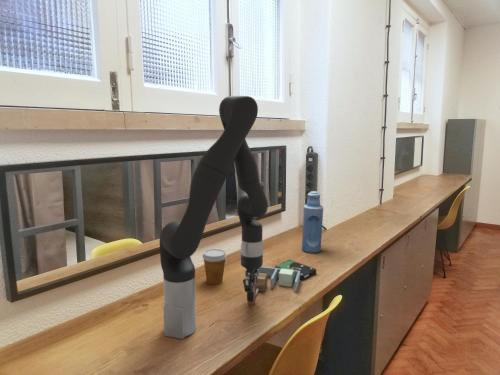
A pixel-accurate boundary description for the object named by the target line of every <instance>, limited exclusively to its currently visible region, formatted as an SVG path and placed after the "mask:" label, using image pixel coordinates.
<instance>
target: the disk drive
mask: <svg viewBox="0 0 500 375" xmlns="http://www.w3.org/2000/svg"><path fill="white" fill-rule="evenodd" d="M274 268H280V269H281V268H282V269H290V270H297V271H300V281H301V282H303V281H305V280H307V279H309V278H310V277H313V276H316V275H317V269H316V268H314V267H311V266H309V265H306V264H304V263H300V262H297V261H295V260H292V259H287V260H286V261H283V262H281V263H279V264H276V265H275V266H274Z"/></svg>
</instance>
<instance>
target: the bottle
mask: <svg viewBox="0 0 500 375" xmlns="http://www.w3.org/2000/svg"><path fill="white" fill-rule="evenodd" d="M323 216H324V206H323V205H321V194H320V192H318V191H317V190H316V191H315V190H312V191H309V192H308V193H307V200H306V204H304V205H303V216H302V218H303V220H302V221H303V222H302V235H301V236H302V237H301V250H302V251H303V252H304V253H307V254H318V253H320V252H322V234H323V222H324V221H323V220H324V219H323Z"/></svg>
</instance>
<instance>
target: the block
mask: <svg viewBox="0 0 500 375" xmlns="http://www.w3.org/2000/svg"><path fill="white" fill-rule="evenodd" d="M293 272H294V270H290V269H282V268H281V270H280V272H279V278H278V286H282V287H293V283H294V280H293Z"/></svg>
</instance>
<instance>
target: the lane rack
mask: <svg viewBox="0 0 500 375" xmlns="http://www.w3.org/2000/svg"><path fill="white" fill-rule="evenodd" d="M280 270H281V269H280V268H275V267H271V266H270V267H269V266H263V265H262V266H261V267H260V268H259V273H264V274H267V278H270V285H269V286H270V289H271V290H273V289H274V286H275V284H276V282H277V280H278V279H279V272H280ZM293 281H294V288H293V290H294V292H295V293H297V291H298V288H299V284H300V281H301V280H300V271H297V270H294V272H293Z"/></svg>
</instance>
